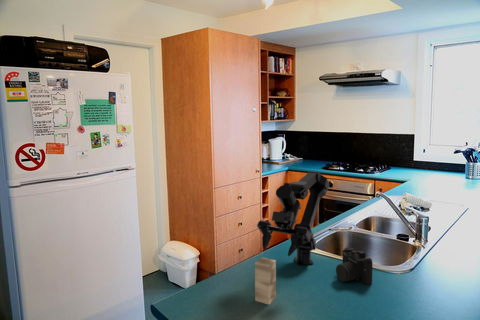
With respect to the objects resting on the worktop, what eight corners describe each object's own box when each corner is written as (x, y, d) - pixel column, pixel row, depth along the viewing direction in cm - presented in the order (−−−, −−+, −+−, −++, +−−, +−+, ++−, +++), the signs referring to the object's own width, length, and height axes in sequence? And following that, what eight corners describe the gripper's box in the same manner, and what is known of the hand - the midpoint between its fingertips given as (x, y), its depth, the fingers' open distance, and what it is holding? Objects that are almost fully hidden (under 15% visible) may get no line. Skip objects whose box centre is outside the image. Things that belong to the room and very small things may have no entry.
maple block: (262, 293, 122) (262, 257, 121) (275, 297, 120) (275, 260, 118) (255, 300, 118) (255, 262, 116) (269, 304, 116) (268, 266, 114)
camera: (327, 272, 138) (327, 247, 136) (350, 268, 141) (350, 243, 140) (350, 289, 125) (351, 261, 123) (375, 283, 129) (376, 257, 127)
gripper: (259, 198, 131) (243, 237, 123) (308, 205, 121) (295, 247, 113) (269, 214, 139) (255, 251, 131) (316, 221, 129) (304, 262, 121)
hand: (276, 252), depth 124 cm, fingers open, 9 cm apart
